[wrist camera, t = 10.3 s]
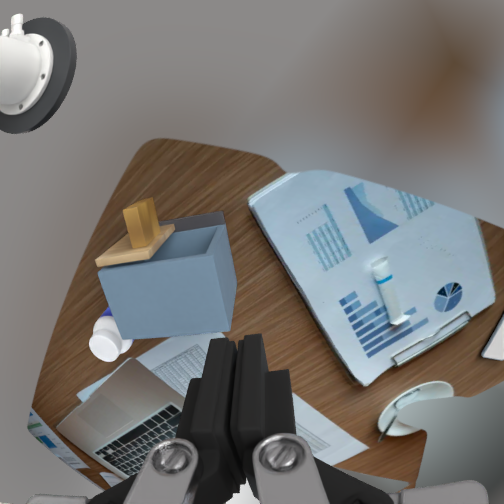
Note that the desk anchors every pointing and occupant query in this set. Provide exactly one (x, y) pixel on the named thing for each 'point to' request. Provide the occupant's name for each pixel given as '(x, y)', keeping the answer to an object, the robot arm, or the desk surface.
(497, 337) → the smartphone
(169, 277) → the grey-blue hollow box
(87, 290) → the desk surface
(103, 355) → the pill bottle
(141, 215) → the tan piece
